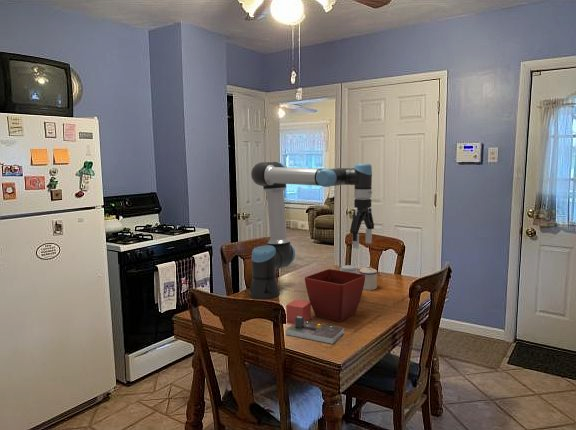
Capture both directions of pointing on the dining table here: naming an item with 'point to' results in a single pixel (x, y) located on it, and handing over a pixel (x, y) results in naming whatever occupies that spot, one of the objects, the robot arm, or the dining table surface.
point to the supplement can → (349, 268)
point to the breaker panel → (316, 332)
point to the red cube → (298, 310)
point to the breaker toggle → (299, 321)
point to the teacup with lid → (369, 278)
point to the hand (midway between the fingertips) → (362, 245)
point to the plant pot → (334, 293)
